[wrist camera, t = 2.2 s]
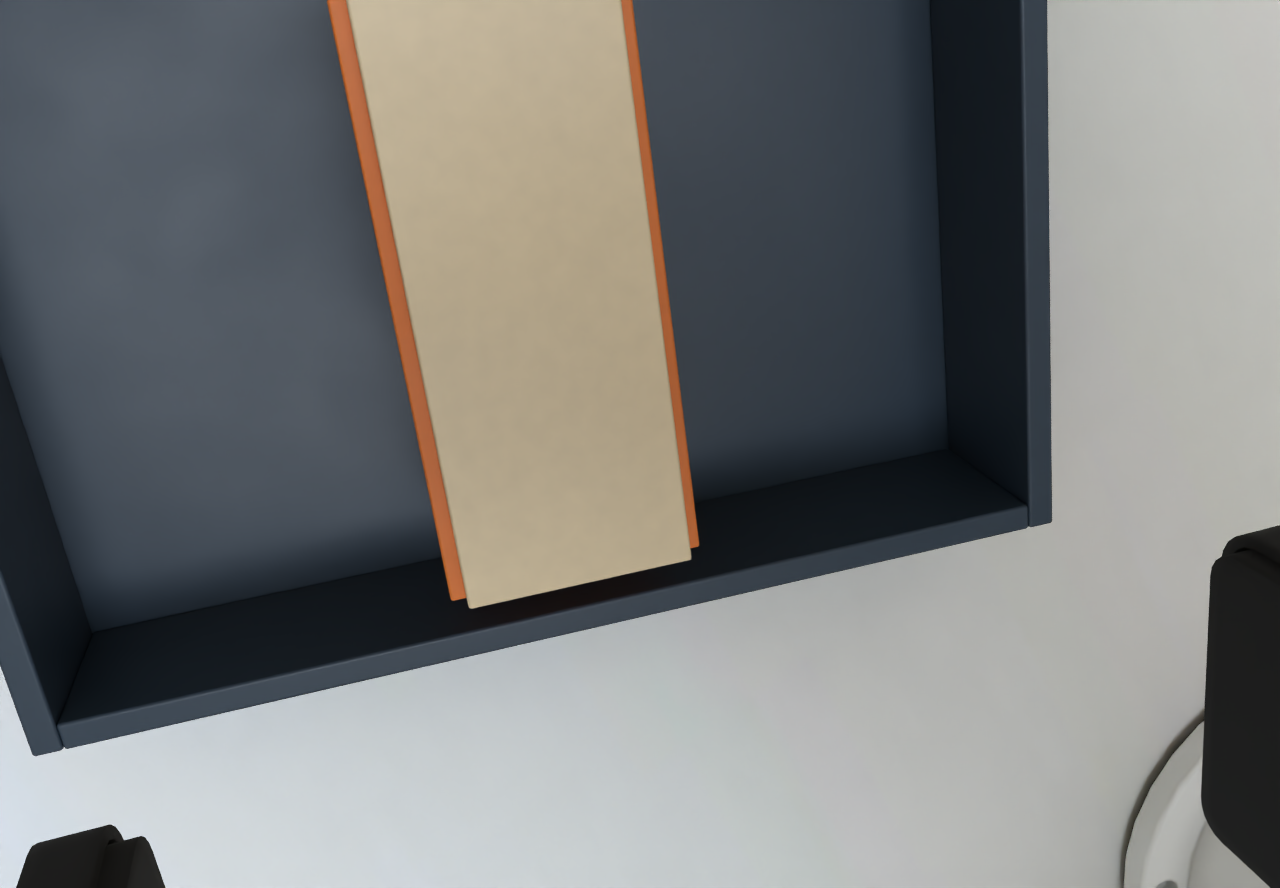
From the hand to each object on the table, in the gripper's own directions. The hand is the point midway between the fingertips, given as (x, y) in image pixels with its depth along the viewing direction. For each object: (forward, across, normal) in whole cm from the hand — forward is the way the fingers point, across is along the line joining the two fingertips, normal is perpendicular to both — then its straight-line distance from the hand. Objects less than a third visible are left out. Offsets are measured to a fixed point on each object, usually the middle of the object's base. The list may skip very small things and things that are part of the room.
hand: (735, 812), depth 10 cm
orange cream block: (+19, -1, -1) cm, 19 cm away
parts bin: (+19, -1, -1) cm, 19 cm away
